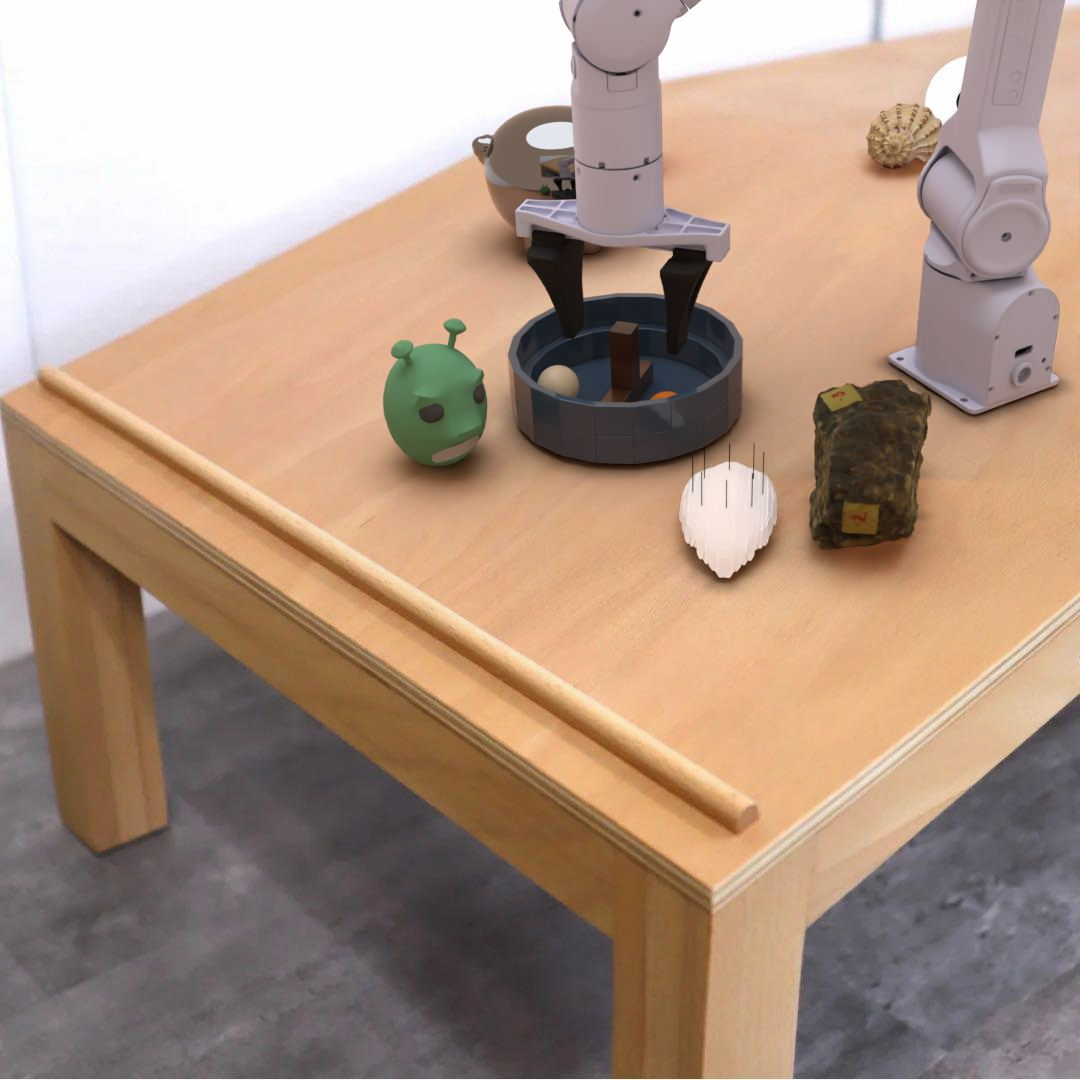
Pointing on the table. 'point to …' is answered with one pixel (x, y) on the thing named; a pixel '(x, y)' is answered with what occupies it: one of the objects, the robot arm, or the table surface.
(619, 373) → the brown t-shaped block
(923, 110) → the seashell
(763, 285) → the table surface
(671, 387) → the bowl
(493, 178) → the piggy bank
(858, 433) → the rock
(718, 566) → the pincushion
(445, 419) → the alien toy
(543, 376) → the bead
